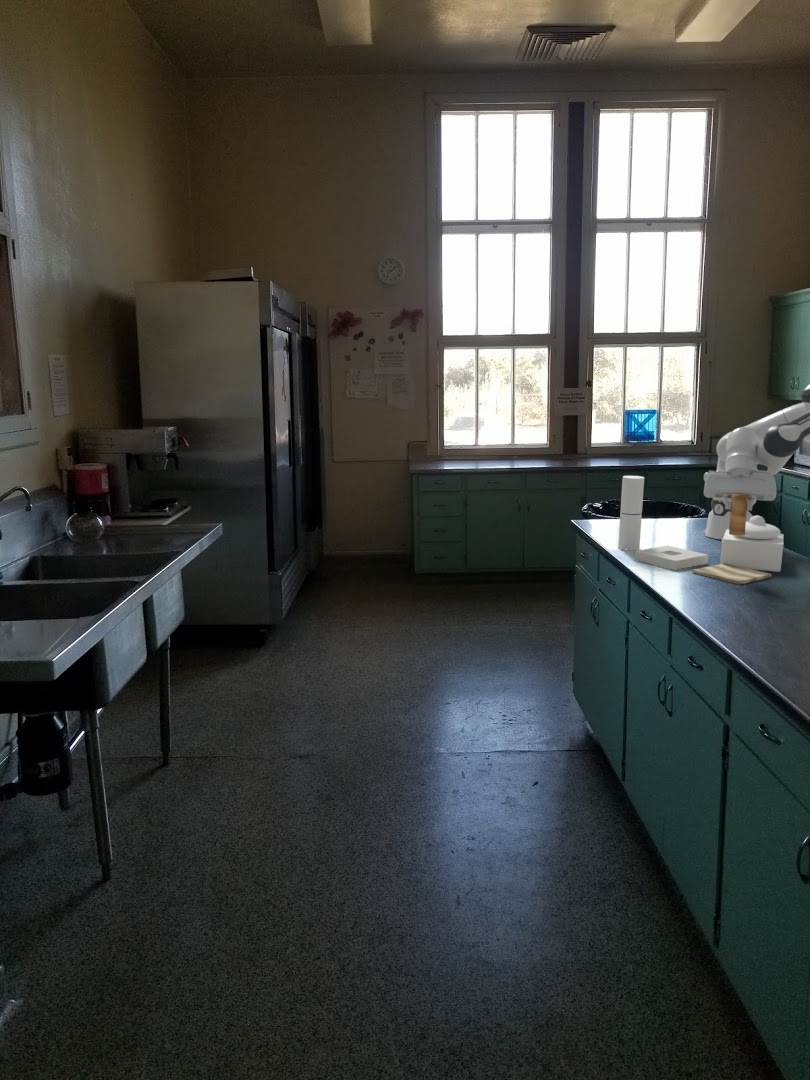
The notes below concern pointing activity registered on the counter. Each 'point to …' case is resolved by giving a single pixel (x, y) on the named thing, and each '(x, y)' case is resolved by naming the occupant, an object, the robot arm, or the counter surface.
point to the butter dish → (754, 547)
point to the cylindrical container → (631, 512)
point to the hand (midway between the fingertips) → (738, 508)
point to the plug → (738, 514)
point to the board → (732, 573)
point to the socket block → (671, 557)
